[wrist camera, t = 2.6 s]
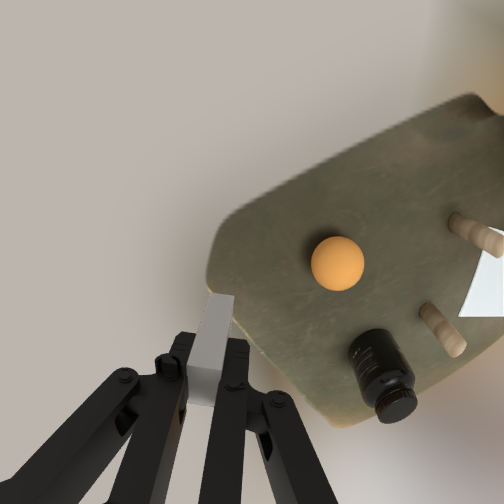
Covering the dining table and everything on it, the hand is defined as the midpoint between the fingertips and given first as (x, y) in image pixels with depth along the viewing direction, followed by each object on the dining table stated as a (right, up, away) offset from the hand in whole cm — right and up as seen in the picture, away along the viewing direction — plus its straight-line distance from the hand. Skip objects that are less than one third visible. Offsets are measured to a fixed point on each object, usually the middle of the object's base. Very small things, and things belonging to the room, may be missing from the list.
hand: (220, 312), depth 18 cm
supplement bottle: (+18, -9, +18) cm, 27 cm away
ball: (+11, +3, +10) cm, 15 cm away
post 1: (+26, -4, +15) cm, 30 cm away
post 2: (+27, +7, +11) cm, 30 cm away
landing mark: (+41, 0, +13) cm, 43 cm away
